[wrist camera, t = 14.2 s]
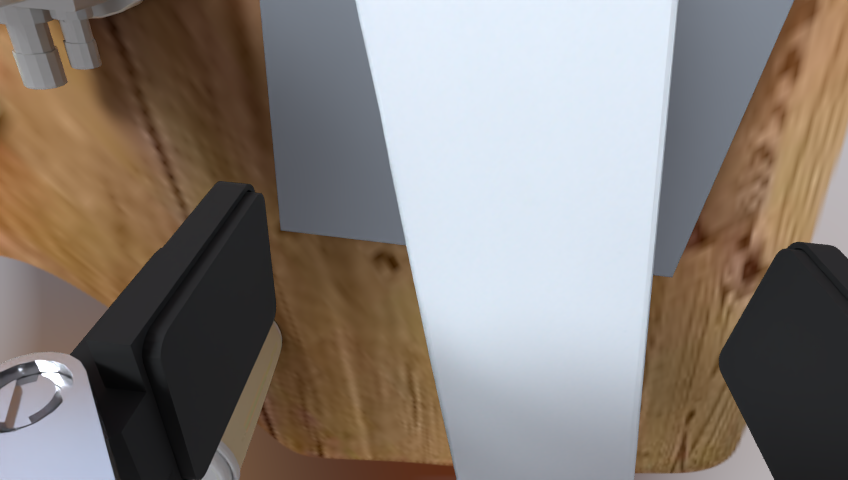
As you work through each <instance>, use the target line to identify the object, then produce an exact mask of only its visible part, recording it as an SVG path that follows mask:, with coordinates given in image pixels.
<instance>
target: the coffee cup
mask: <svg viewBox="0 0 848 480" xmlns="http://www.w3.org/2000/svg"><path fill="white" fill-rule="evenodd" d="M281 348H282V336H281V332H280V330H279V327H278V325H277V324H276V322H275V321H273V324H272V326H271V329H270V331H269V333H268V335H267V338H266V340H265V342H264V344H263V347H262V349H261V351H260V353H259V356H258V358H257V360H256V362H255V365H254V367H253V369H252V371H251V374H250V376H249V378H248V380H247V383H246V385H245V387H244V389H243V392H242V394H241V396H240V398H239V401H238V403H237V405H236V407H235V410H234V412H233V414H232V416H231V419H230V421H229V423H228V425H227V428H226V430H225V432H224V434H223V437H222V439H221V441H220V443H219V446H218V448H217V450H216V452H215V455H214V457H213V459H212V461H211V464H210V466H209V468H208V470H207V472H206V474H205V476H204V477H203V478H202V479H201V480H239V477H240V469H241V466H242V464H243V461H244V459H245V456H246V453H247V450H248V447H249V444H250V441H251V438H252V435H253V432H254V430H255V427H256V424H257V421H258V418H259V415H260V412H261V409H262V406H263V403H264V401H265V398H266V395H267V392H268V389H269V386H270V383H271V380H272V377H273V374H274V371H275V368H276V365H277V362H278V358H279V355H280V352H281Z"/></svg>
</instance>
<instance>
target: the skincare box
mask: <svg viewBox="0 0 848 480" xmlns="http://www.w3.org/2000/svg"><path fill="white" fill-rule="evenodd" d="M355 1H356V6H357V11H358V16H359V21H360V25H361V29H362V34H363V38H364V43H365V47H366V52H367V56H368V61H369V65H370V70H371V74H372V79H373V83H374V88H375V92H376V97H377V101H378V106H379V110H380V115H381V121H382V126H383V131H384V136H385V142H386V147H387V152H388V158H389V163H390V168H391V173H392V178H393V183H394V188H395V193H396V197H397V202H398V207H399V212H400V217H401V222H402V227H403V232H404V236H405V241H406V246H407V251H408V256H409V261H410V265H411V270H412V275H413V280H414V285H415V289H416V294H417V299H418V304H419V309H420V313H421V318H422V323H423V328H424V333H425V337H426V342H427V347H428V352H429V357H430V361H431V366H432V370H433V375H434V379H435V384H436V388H437V393H438V397H439V402H440V406H441V411H442V415H443V420H444V424H445V429H446V433H447V438H448V442H449V447H450V451H451V456H452V460H453V465H454V469H455V474H456V479H457V480H634V474H635V463H636V453H637V442H638V430H639V418H640V407H641V396H642V386H643V375H644V365H645V354H646V343H647V333H648V322H649V311H650V301H651V290H652V279H653V269H654V258H655V247H656V237H657V226H658V216H659V205H660V194H661V184H662V173H663V162H664V152H665V141H666V130H667V120H668V109H669V98H670V88H671V77H672V66H673V55H674V45H675V34H676V23H677V13H678V2H679V0H355Z"/></svg>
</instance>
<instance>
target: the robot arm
mask: <svg viewBox="0 0 848 480" xmlns="http://www.w3.org/2000/svg"><path fill="white" fill-rule="evenodd" d="M143 1H144V0H0V24H5V25H6V28H7V31H8V33H9V36H10V39H11V42H12V45H13V48H14V49H13V50H12V53H13V55H14V58H15V61H16V64H17V67H18V69H19V72H20V75H21V78H22V81H23V83H24V86H26V87H27V88H31V89H51V88H57V87H60V86H63V85H65V84H66V83H67V82H68V81H67V78H66V75H65V72H64V68H63V65H62V62H61V59H60V55H59V52H58V49H57V47H56V46H54V42H53V39H52V36H51V33H50V30H49V26H48V23H47V22H49V21H52V20H53V19H57V20H59V23H60V26H61V29H62V33H63V36H64V40H63V41H64V45H65V48H66V51H67V55H68V58H69V61H70V65H71V67H72V68H75V69H93V68H97V67H100V66H101V65H102V63H101V59H100V55H99V51H98V48H97V44H96V40H95V39H94V38H93V35H92V31H91V27H90V23H89V20H88V19H91V18H103V17H107V16H110V15H114V14H117V13H120V12H123V11H125V10H127V9H130V8H132V7H134V6H136V5H139V4H140V3H141V2H143ZM275 313H276V298H275V289H274V280H273V271H272V262H271V253H270V244H269V235H268V226H267V217H266V208H265V200H264V197H263V195H262V194H261V193H255V190H254V188H253V186H252V185H251V184H242V183H233V182H223V181H219V182H217V183H216V184H215V185H214V186H213V188H212V189H211V190H210V191H209V192H208V194H207V195H206V196H205V197H204V198H203V200H202V201H201V202H200V203H199V204H198V206H197V207H196V208H195V209H194V210H193V212H192V213H191V214H190V215H189V216H188V218H187V219H186V220H185V221H184V223H183V224H182V225H181V226H180V227H179V229H178V230H177V231H176V232H175V233H174V235H173V236H172V237H171V238H170V239H169V241H168V242H167V243H166V244H165V245H164V247H163V248H160V249H159V250H158V251H157V252H156V253H155V254H154V255H153V256H152V257H151V258H150V260H149V261H148V262H147V263H146V264H145V266H144V267H143V268H142V269H141V270H140V272H139V273H138V274H137V275H136V276H135V278H134V279H133V280H132V281H131V282H130V284H129V285H128V286H127V287H126V288H125V289H124V291H123V292H122V293H121V294H120V295H119V297H118V298H117V299H116V300H115V301H114V303H113V304H112V305H111V306H110V307H109V309H108V310H107V311H106V312H105V314H104V315H103V316H102V317H101V318H100V319H99V321H98V322H97V323H96V324H95V325H94V327H93V328H92V329H91V330H90V331H89V332H88V334H87V335H86V336H85V337H84V338H83V340H82V341H81V342H80V343H79V344H78V346H77V347H76V348H75V349H74V350H73V352H72V353H71V354H70V355H69V354H63V353H58V352H40V353H32V354H28V355H24V356H20V357H16V358H13V359H11V360H8V361H6V362H4V363H1V364H0V480H201V479H202V478H203V477H204V476H205V474H206V472H207V470H208V468H209V466H210V464H211V461H212V459H213V457H214V455H215V452H216V450H217V448H218V446H219V443H220V441H221V439H222V437H223V434H224V432H225V430H226V428H227V425H228V423H229V421H230V419H231V416H232V414H233V412H234V410H235V407H236V405H237V403H238V401H239V398H240V396H241V394H242V392H243V389H244V387H245V385H246V383H247V380H248V378H249V376H250V374H251V371H252V369H253V367H254V365H255V362H256V360H257V358H258V356H259V353H260V351H261V349H262V347H263V344H264V342H265V340H266V338H267V335H268V333H269V331H270V329H271V326H272V324H273V321H274V318H275ZM719 368H720V371H721V374H722V376H723V378H724V380H725V382H726V384H727V386H728V388H729V390H730V392H731V394H732V396H733V398H734V400H735V402H736V404H737V406H738V408H739V410H740V412H741V414H742V416H743V418H744V420H745V422H746V424H747V426H748V428H749V430H750V431H751V434H752V436H753V437H754V440H755V442H756V444H757V446H758V448H759V449H760V452H761V453H762V456H763V458H764V459H765V462H766V464H767V466H768V468H769V469H770V471H771V474H772V476H773V478H774V480H848V259H847V257H846V256H844V254H843V253H842V252H841V251H840V250H839V249H837V248H836V247H834V246H831V245H823V244H814V243H804V242H796V243H793V244H791V245H790V246H789V247H788V248H787V249H782V250H781V251H779V252H778V253H777V255H776V256H775V258H774V260H773V261H772V263H771V265H770V267H769V268H768V270H767V272H766V274H765V275H764V277H763V279H762V281H761V282H760V284H759V286H758V288H757V289H756V291H755V293H754V295H753V296H752V298H751V300H750V302H749V303H748V305H747V307H746V309H745V310H744V312H743V314H742V316H741V318H740V319H739V321H738V323H737V325H736V326H735V328H734V330H733V332H732V333H731V335H730V337H729V339H728V340H727V342H726V344H725V346H724V347H723V349H722V351H721V353H720V356H719Z"/></svg>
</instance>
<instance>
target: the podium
mask: <svg viewBox="0 0 848 480" xmlns="http://www.w3.org/2000/svg"><path fill="white" fill-rule="evenodd" d="M793 1H794V0H679V2H678V13H677V23H676V34H675V45H674V55H673V66H672V77H671V88H670V98H669V109H668V120H667V130H666V141H665V152H664V162H663V173H662V184H661V194H660V205H659V216H658V226H657V237H656V247H655V258H654V269H653V275H657V276H666V277H672V276H673V274H674V272H675V270H676V267H677V265H678V263H679V260H680V258H681V256H682V254H683V251H684V249H685V247H686V245H687V242H688V240H689V238H690V235H691V233H692V231H693V229H694V226H695V224H696V222H697V220H698V217H699V215H700V213H701V210H702V208H703V206H704V204H705V201H706V199H707V197H708V195H709V192H710V190H711V188H712V185H713V183H714V181H715V179H716V176H717V174H718V172H719V170H720V167H721V165H722V163H723V160H724V158H725V156H726V154H727V151H728V149H729V147H730V145H731V142H732V140H733V138H734V135H735V133H736V131H737V129H738V126H739V124H740V122H741V120H742V117H743V115H744V113H745V110H746V108H747V106H748V104H749V101H750V99H751V97H752V95H753V92H754V90H755V88H756V85H757V83H758V81H759V79H760V76H761V74H762V72H763V70H764V67H765V65H766V63H767V60H768V58H769V56H770V54H771V51H772V49H773V47H774V45H775V42H776V40H777V38H778V35H779V33H780V31H781V29H782V26H783V24H784V22H785V20H786V17H787V15H788V13H789V10H790V8H791V6H792V4H793ZM260 9H261V20H262V31H263V42H264V52H265V63H266V74H267V85H268V96H269V107H270V118H271V128H272V139H273V150H274V161H275V172H276V183H277V194H278V205H279V215H280V226H281V230H283V231H291V232H299V233H308V234H316V235H324V236H333V237H341V238H349V239H358V240H366V241H374V242H383V243H391V244H399V245H406V241H405V236H404V232H403V227H402V222H401V217H400V212H399V207H398V202H397V197H396V193H395V188H394V183H393V178H392V173H391V168H390V163H389V158H388V152H387V147H386V142H385V136H384V131H383V126H382V121H381V115H380V110H379V106H378V101H377V97H376V92H375V88H374V83H373V79H372V74H371V70H370V65H369V61H368V56H367V52H366V47H365V43H364V38H363V34H362V29H361V25H360V21H359V16H358V11H357V6H356V1H355V0H260Z"/></svg>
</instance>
